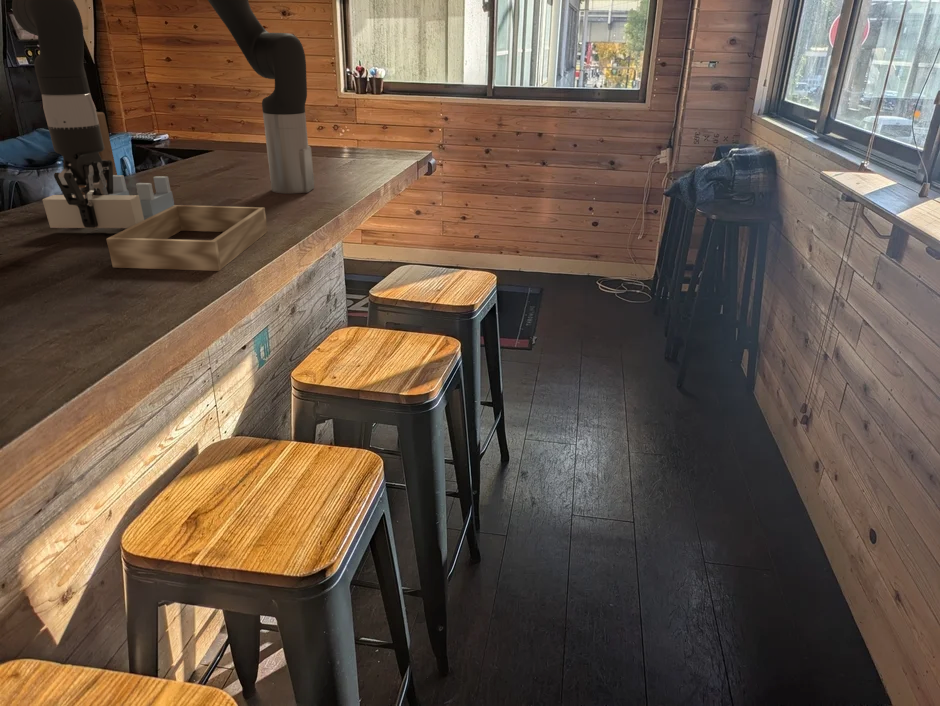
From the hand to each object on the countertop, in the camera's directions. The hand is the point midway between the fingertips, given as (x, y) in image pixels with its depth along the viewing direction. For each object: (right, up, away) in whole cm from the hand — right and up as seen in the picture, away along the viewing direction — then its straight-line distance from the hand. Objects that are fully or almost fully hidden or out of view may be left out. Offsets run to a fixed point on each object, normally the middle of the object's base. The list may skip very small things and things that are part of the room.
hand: (98, 223), depth 116 cm
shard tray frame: (+21, -5, -7) cm, 22 cm away
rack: (0, +4, +13) cm, 13 cm away
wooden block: (-11, +8, +21) cm, 25 cm away
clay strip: (0, 0, 0) cm, 0 cm away
